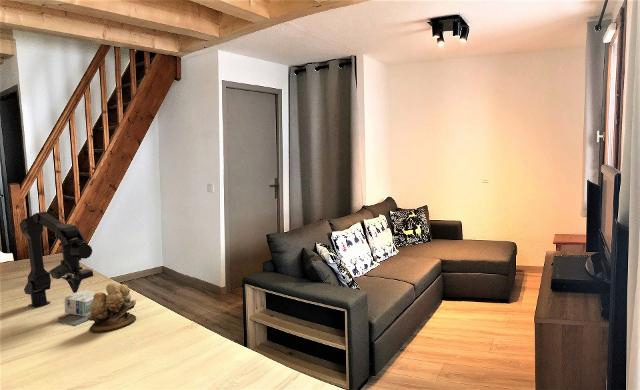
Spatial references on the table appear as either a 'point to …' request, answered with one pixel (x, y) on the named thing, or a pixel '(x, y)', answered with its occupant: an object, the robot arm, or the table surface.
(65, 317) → the walnut kerb
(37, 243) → the robot arm
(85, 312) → the light bulb box
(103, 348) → the table surface
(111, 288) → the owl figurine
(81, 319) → the rubber mat
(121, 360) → the table surface
